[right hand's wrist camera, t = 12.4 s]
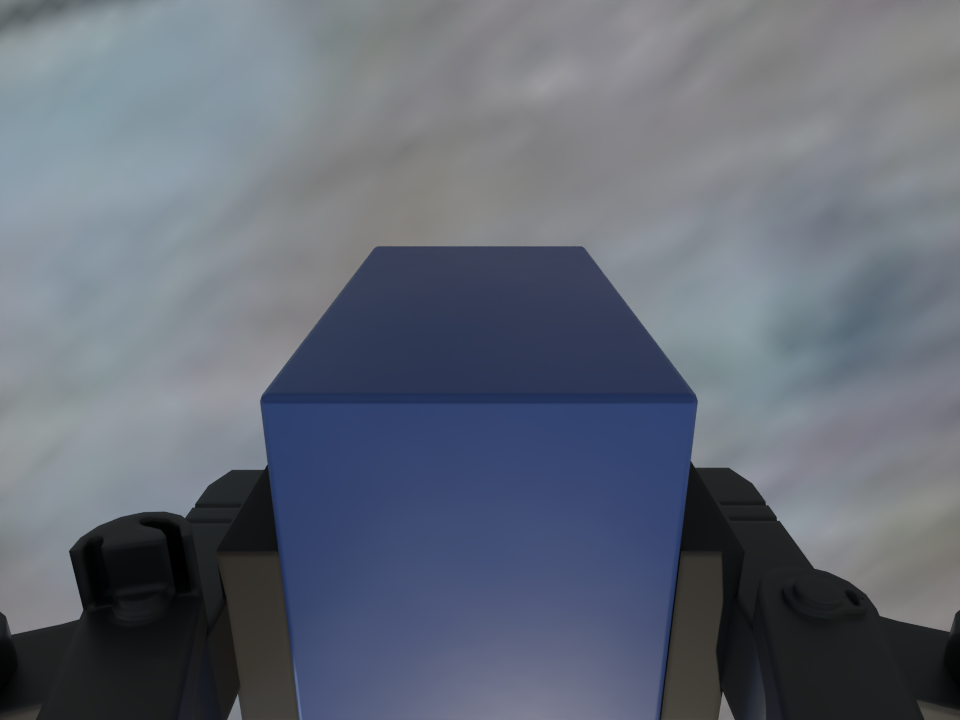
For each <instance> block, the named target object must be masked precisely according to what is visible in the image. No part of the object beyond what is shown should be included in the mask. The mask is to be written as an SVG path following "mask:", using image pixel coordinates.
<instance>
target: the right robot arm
mask: <svg viewBox="0 0 960 720" xmlns="http://www.w3.org/2000/svg"><path fill="white" fill-rule="evenodd" d="M69 553H70V557H71V561H72V565H73V569H74V573H75V577H76V582H77V586H78V590H79V594H80V598H81V602H82V606H83V612H82V615H81V617H80V619H79V620H75V621H72V622H68V623H65V624H61V625H56V626H51V627H47V628H42V629H37V630H32V631H28V632H23V633H18V634H14V635H11V632H10V629H9V626H8V622H7V619H6V616H5V615H3V614H2V613H1V612H0V720H227V719H228V716H229V714H230V711H231V709H232V707H233V704H234V702H235V699H236V697H237V694H238V696H239V702H240V708H241V715H242V720H299V716H298V707H297V699H296V691H295V683H294V674H293V666H292V658H291V649H290V641H289V633H288V625H287V616H286V608H285V600H284V592H283V583H282V575H281V567H280V558H279V551H278V544H277V536H276V527H275V519H274V511H273V503H272V494H271V486H270V478H269V470H268V465H267V466H266V468H265V470H231V471H230V472H228V473H227V474H225V475H224V476H222V477H221V478H219V479H218V480H216V481H215V482H213V483H212V484H210V485H209V486H208V487H207V489H206V490H205V491H204V493H203V494H202V495H201V497H200V498H199V500H198V501H197V502H196V504H195V508H192V509H191V511H190V512H189V513H188V515H187V516H186V518H184V517H182V516H181V515H177V514H173V513H168V512H143V513H138V514H133V515H128V516H124V517H120V518H117V519H115V520H112V521H110V522H107V523H105V524H102V525H100V526H98V527H96V528H95V529H93V530H92V531H90V532H89V533H87V534H86V535H84V536H82V537H81V538H80V539H79V540H78V541H77V542H76V544H75V545H74V546H73V547H72V548H71V549H70V551H69ZM722 692H724V695H725V697H726V700H727V702H728V704H729V707H730V709H731V712H732V714H733V716H734V719H735V720H960V610H959V611H958V612H957V613H956V614H955V618H954V621H953V624H952V628H951V631H950V632H947V631H942V630H937V629H932V628H928V627H923V626H918V625H914V624H909V623H904V622H899V621H896V620H892V619H888V618H885V617H881V616H879V613H878V611H877V609H876V608H875V606H874V605H873V604H872V602H871V601H870V599H869V598H868V597H867V595H866V594H865V593H863V592H862V591H861V590H859V589H858V588H856V587H855V586H854V585H852V584H851V583H850V582H848V581H846V580H844V579H842V578H840V577H837V576H835V575H833V574H831V573H829V572H826V571H821V570H817V569H814V568H813V566H812V565H811V564H810V562H809V561H808V559H807V558H806V557H805V555H804V554H803V553H802V551H801V550H800V548H799V547H798V546H797V544H796V543H795V542H794V540H793V539H792V537H791V536H790V535H789V533H788V532H787V531H786V529H785V528H784V526H783V525H782V524H781V522H780V521H777V517H776V515H775V514H774V513H773V511H772V510H771V509H770V507H769V506H768V505H766V502H765V500H764V499H763V498H762V496H761V495H760V493H759V492H758V491H757V489H756V488H755V487H754V485H753V484H752V483H751V482H749V481H748V480H746V479H745V478H743V477H742V476H740V475H739V474H737V473H736V472H734V471H733V470H731V469H730V468H695V467H694V466H693V464H692V462H691V461H690V469H689V478H688V486H687V494H686V503H685V511H684V519H683V528H682V536H681V544H680V553H679V561H678V569H677V578H676V586H675V594H674V603H673V611H672V619H671V628H670V636H669V644H668V653H667V661H666V669H665V678H664V686H663V694H662V703H661V711H660V719H659V720H718V717H719V711H720V705H721V699H722Z"/></svg>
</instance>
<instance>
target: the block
mask: <svg viewBox="0 0 960 720" xmlns="http://www.w3.org/2000/svg"><path fill="white" fill-rule="evenodd" d="M697 403H698V400H697V397H696V395H695V394H694V392H693V391H692V390H691V388H690V387H689V386H688V384H687V383H686V382H685V380H684V379H683V378H682V376H681V375H680V374H679V372H678V371H677V370H676V368H675V367H674V366H673V364H672V363H671V362H670V360H669V359H668V358H667V357H666V355H665V354H664V353H663V351H662V350H661V349H660V347H659V346H658V345H657V343H656V342H655V341H654V339H653V338H652V337H651V335H650V334H649V333H648V331H647V330H646V329H645V327H644V326H643V325H642V324H641V322H640V321H639V320H638V318H637V317H636V316H635V314H634V313H633V312H632V310H631V309H630V308H629V306H628V305H627V304H626V302H625V301H624V300H623V298H622V297H621V296H620V294H619V293H618V292H617V291H616V289H615V288H614V287H613V285H612V284H611V283H610V281H609V280H608V279H607V277H606V276H605V275H604V273H603V272H602V271H601V269H600V268H599V267H598V265H597V264H596V263H595V261H594V260H593V259H592V258H591V256H590V255H589V254H588V252H587V251H586V250H585V248H583V247H392V246H378V247H375V248H374V249H373V251H372V252H371V253H370V255H369V256H368V257H367V259H366V260H365V261H364V263H363V264H362V265H361V266H360V268H359V269H358V270H357V272H356V273H355V274H354V276H353V277H352V278H351V280H350V281H349V282H348V283H347V285H346V286H345V287H344V289H343V290H342V291H341V293H340V294H339V295H338V297H337V298H336V299H335V300H334V302H333V303H332V304H331V306H330V307H329V308H328V310H327V311H326V312H325V314H324V315H323V316H322V318H321V319H320V320H319V321H318V323H317V324H316V325H315V327H314V328H313V329H312V331H311V332H310V333H309V335H308V336H307V337H306V338H305V340H304V341H303V342H302V344H301V345H300V346H299V348H298V349H297V350H296V352H295V353H294V354H293V355H292V357H291V358H290V359H289V361H288V362H287V363H286V365H285V366H284V367H283V369H282V370H281V371H280V372H279V374H278V375H277V376H276V378H275V379H274V380H273V382H272V383H271V384H270V386H269V387H268V388H267V389H266V391H265V392H264V393H263V395H262V397H261V400H260V404H261V412H262V420H263V428H264V437H265V445H266V453H267V461H268V470H269V478H270V486H271V494H272V503H273V511H274V519H275V527H276V536H277V544H278V551H279V558H280V567H281V575H282V583H283V592H284V600H285V608H286V616H287V625H288V633H289V641H290V649H291V658H292V666H293V674H294V683H295V691H296V699H297V707H298V716H299V720H659V719H660V711H661V703H662V694H663V686H664V678H665V669H666V661H667V653H668V644H669V636H670V628H671V619H672V611H673V603H674V594H675V586H676V578H677V569H678V561H679V553H680V544H681V536H682V528H683V519H684V511H685V503H686V494H687V486H688V478H689V469H690V461H691V453H692V444H693V436H694V428H695V419H696V411H697Z"/></svg>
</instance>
